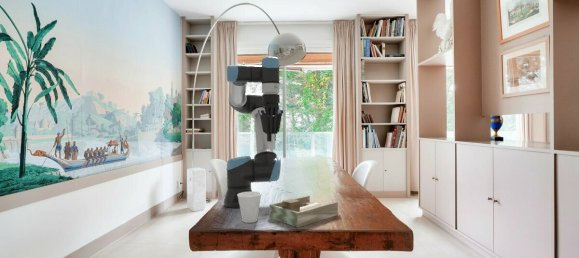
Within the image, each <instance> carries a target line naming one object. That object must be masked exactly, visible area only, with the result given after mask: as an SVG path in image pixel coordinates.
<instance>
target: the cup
mask: <svg viewBox="0 0 579 258" xmlns="http://www.w3.org/2000/svg"><path fill="white" fill-rule="evenodd" d="M237 196H238V200H239V204H240V208H239V209H240V210H239V211H240V215H241V220H242V222H243V223H245V224H253V223H256V222H257V221H258V219H259V211H260V205H261V198H262V193H261V192H260V191H252V192H242V193H239V194H237Z"/></svg>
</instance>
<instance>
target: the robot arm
mask: <svg viewBox="0 0 579 258" xmlns="http://www.w3.org/2000/svg"><path fill="white" fill-rule="evenodd" d="M226 81H227V82H228V83H230V94H229V96H228V103H229V104H230V107H231V108H232V109H233V110H234V111H236V112H237V113H240V114H244V115H250V117H252V119H253V122H254V131H255V132H254V134H255V135H254V136H255V147H256V154H255V155H254V157H253V158H252V157H251V156H250V155H244V156H237V157H233V158H229V159H228V160H227V162H226V176H227V177H226V187H227V188H226V192H225V196H224V199H223V206H224V207H226V208H231V209H240V204H239V200H238V196H237V194H239V193H242V192H253V189H252V183H271V182H277V181H278V180H279V179H280V176H281V164H282V163H281V161H282V160H281V158H280V157H278V154H277V153H276V152H274V150H275V149H276V141H277V139H276V138H277V134H278V133H280V130H281V123H282V117H283V114H284V110H282V109H281V108H280V105H279V103H280V100H281V99H280V98H281V97H280V94H279V93H280V59H279V58H278V57H275V56H264V57H262V59H261V63H260V65H237V64H234V65H228V66H227V67H226ZM248 83H259V84H260V83H261V93H246V92H247V85H248Z"/></svg>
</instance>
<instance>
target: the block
mask: <svg viewBox="0 0 579 258" xmlns="http://www.w3.org/2000/svg"><path fill="white" fill-rule="evenodd" d="M295 199H296V198H288V199H284V200H282V201H281V202H282V208H285V209H289V210H292V211H296V212H300V201H299V200H295Z"/></svg>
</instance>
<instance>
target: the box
mask: <svg viewBox="0 0 579 258" xmlns="http://www.w3.org/2000/svg"><path fill="white" fill-rule="evenodd" d="M294 199H295V200H299V201H300V212H296V211H292V210H289V209H285V208H282V201H280V202H279V201H278V202H275V203H272V204H271V203H270V204H269V205H268V206H269V207H268V208H269V219H272V220H275V221H278V222H282V223H284V224H287V225H291V226H293V227H295V228H301V227H304V226H308V225H311V224H314V223H317V222H320V221H323V220H326V219H329V218H333V217H335V216H338V215H339V203H338V201H334V202H332V203H331V202H330V203H327V204H323V203H318V202H315V201H311V199H310V195H305V196H299V197H298V198H297V197H296V198H294Z"/></svg>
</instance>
